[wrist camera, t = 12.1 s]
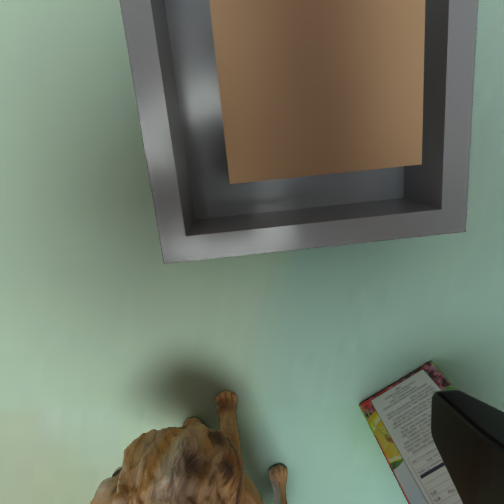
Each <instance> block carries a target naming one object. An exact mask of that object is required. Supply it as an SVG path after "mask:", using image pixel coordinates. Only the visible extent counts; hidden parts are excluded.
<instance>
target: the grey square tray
mask: <svg viewBox="0 0 504 504" xmlns="http://www.w3.org/2000/svg"><path fill="white" fill-rule="evenodd" d="M120 6H121V12H122V18H123V24H124V30H125V36H126V42H127V48H128V53H129V59H130V65H131V71H132V77H133V83H134V89H135V95H136V101H137V107H138V113H139V119H140V125H141V130H142V136H143V142H144V148H145V154H146V160H147V166H148V172H149V178H150V184H151V190H152V196H153V202H154V207H155V213H156V219H157V225H158V231H159V237H160V243H161V249H162V255H163V261H164V264H166V263H176V262H185V261H194V260H204V259H213V258H223V257H232V256H242V255H251V254H261V253H270V252H279V251H289V250H298V249H308V248H317V247H327V246H336V245H345V244H355V243H364V242H374V241H383V240H393V239H402V238H412V237H421V236H430V235H440V234H449V233H459V232H466V216H467V198H468V179H469V161H470V142H471V124H472V105H473V87H474V68H475V49H476V31H477V12H478V0H425V40H424V86H423V132H422V164H420V165H411V166H401V167H391V168H382V169H372V170H362V171H352V172H343V173H333V174H323V175H314V176H304V177H294V178H284V179H275V180H265V181H255V182H246V183H236V184H230V181H229V172H228V163H227V154H226V145H225V136H224V127H223V118H222V109H221V100H220V92H219V83H218V74H217V65H216V56H215V47H214V38H213V29H212V20H211V12H210V3H209V0H120Z"/></svg>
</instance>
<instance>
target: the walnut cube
mask: <svg viewBox="0 0 504 504" xmlns="http://www.w3.org/2000/svg"><path fill="white" fill-rule="evenodd" d="M209 3H210V12H211V20H212V29H213V38H214V47H215V56H216V65H217V74H218V83H219V92H220V100H221V109H222V118H223V127H224V136H225V145H226V154H227V163H228V172H229V181H230V184H236V183H246V182H255V181H265V180H275V179H284V178H294V177H304V176H314V175H323V174H333V173H343V172H352V171H362V170H372V169H382V168H391V167H401V166H411V165H420V164H422V132H423V86H424V40H425V0H209Z"/></svg>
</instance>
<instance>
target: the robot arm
mask: <svg viewBox="0 0 504 504" xmlns="http://www.w3.org/2000/svg"><path fill="white" fill-rule="evenodd" d="M431 434H432V438H433V441H434V443H435V445H436V447H437V450H438V452H439V454H440V456H441V458H442V460H443V462H444V464H445V467H446V469H447V471H448V473H449V475H450V477H451V479H452V482H453V484H454V486H455V488H456V490H457V492H458V494H459V496H460V499H461V501H462V503H463V504H504V412H502V411H500V410H498V409H496V408H494V407H492V406H490V405H488V404H486V403H484V402H482V401H480V400H478V399H476V398H474V397H471V396H469V395H467V394H465V393H463V392H461V391H459V390H456V389H450V390H441V391H436V392H434V393H433V395H432V403H431Z"/></svg>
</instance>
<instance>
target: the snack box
mask: <svg viewBox="0 0 504 504" xmlns="http://www.w3.org/2000/svg"><path fill="white" fill-rule="evenodd" d="M450 389H456V388H455V387H454V386H453V385H452V384H451V383H450V382H449V380H448V379H447V378H446V377H445V376H444V375H443V374H442V373H441V372H440V371H439V370H438V368H437V367H436V366H435V365H434V363H432V362H428V363H427V364H425V365H424V366H423V367H421V368H419V369H418V370H416V371H415V372H413V373H411V374H409V375H408V376H406V377H405V378H403V379H401V380H400V381H398V382H397V383H395V384H393V385H391V386H390V387H388V388H386V389H385V390H383V391H381V392H380V393H378V394H377V395H375V396H373V397H371V398H370V399H368V400H367V401H365V402H363V403H361V404H360V409H361V411H362V412H363V414H364V416H365V418H366V420H367V422H368V424H369V426H370V428H371V430H372V432H373V434H374V436H375V438H376V440H377V442H378V444H379V446H380V448H381V450H382V452H383V454H384V456H385V458H386V460H387V462H388V464H389V466H390V468H391V470H392V472H393V474H394V476H395V478H396V480H397V482H398V484H399V486H400V488H401V490H402V492H403V494H404V496H405V498H406V500H407V502H408V504H463V503H462V501H461V499H460V496H459V494H458V492H457V490H456V488H455V486H454V484H453V482H452V479H451V477H450V475H449V473H448V471H447V469H446V467H445V464H444V462H443V460H442V458H441V456H440V454H439V452H438V450H437V447H436V445H435V443H434V441H433V438H432V434H431V403H432V395H433V393H434V392H436V391H441V390H450ZM456 390H457V389H456Z"/></svg>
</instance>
